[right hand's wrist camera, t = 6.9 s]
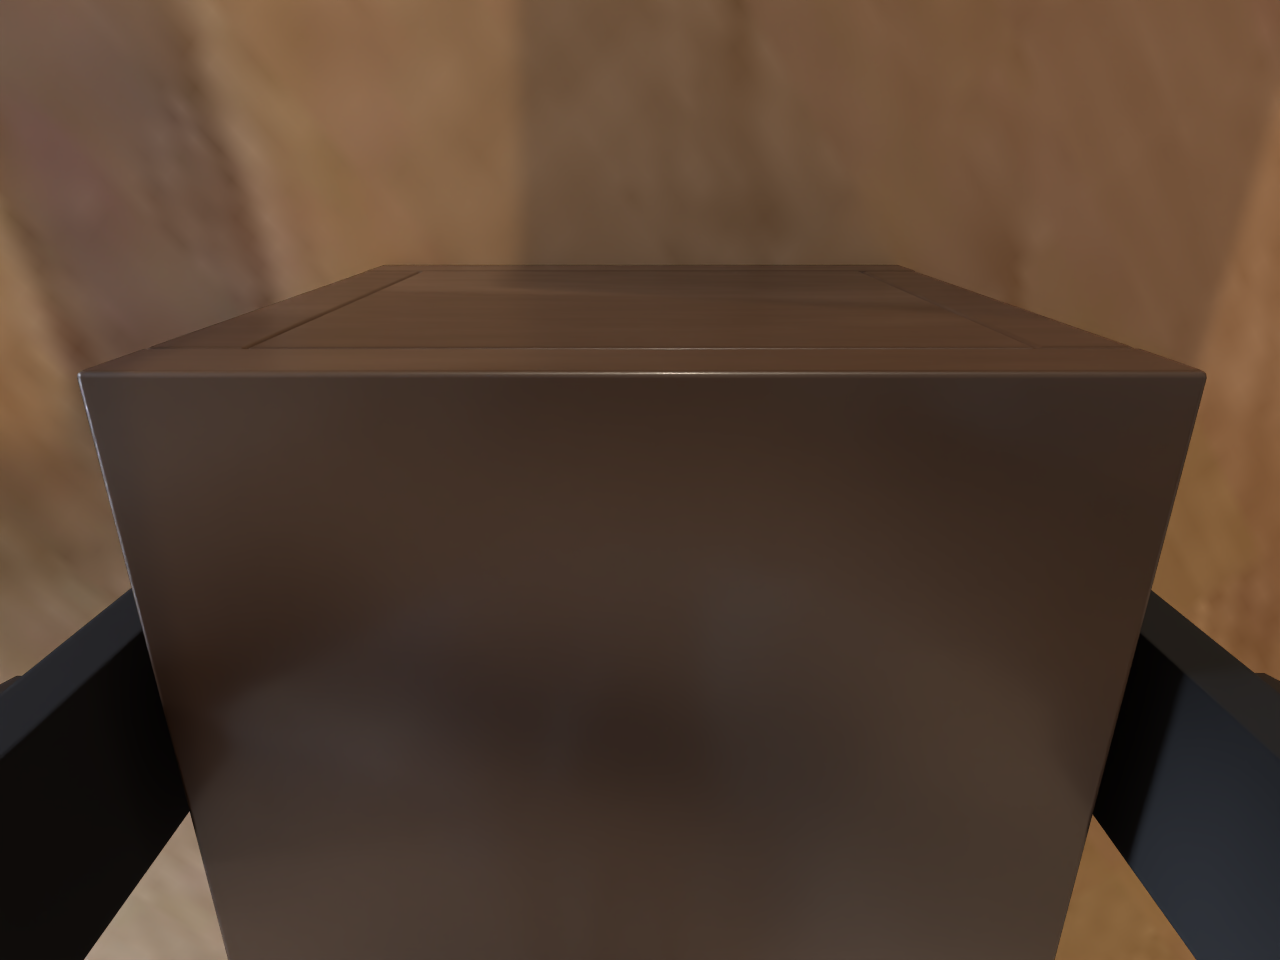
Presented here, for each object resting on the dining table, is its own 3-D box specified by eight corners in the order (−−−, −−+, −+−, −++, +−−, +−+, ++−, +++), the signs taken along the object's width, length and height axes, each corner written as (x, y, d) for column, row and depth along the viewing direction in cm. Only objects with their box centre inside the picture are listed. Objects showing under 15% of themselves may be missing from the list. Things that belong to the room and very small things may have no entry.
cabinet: (814, 1010, 24) (916, 1495, 15) (466, 1010, 23) (365, 1493, 15) (899, 265, 16) (1211, 372, 7) (381, 264, 16) (71, 371, 7)
